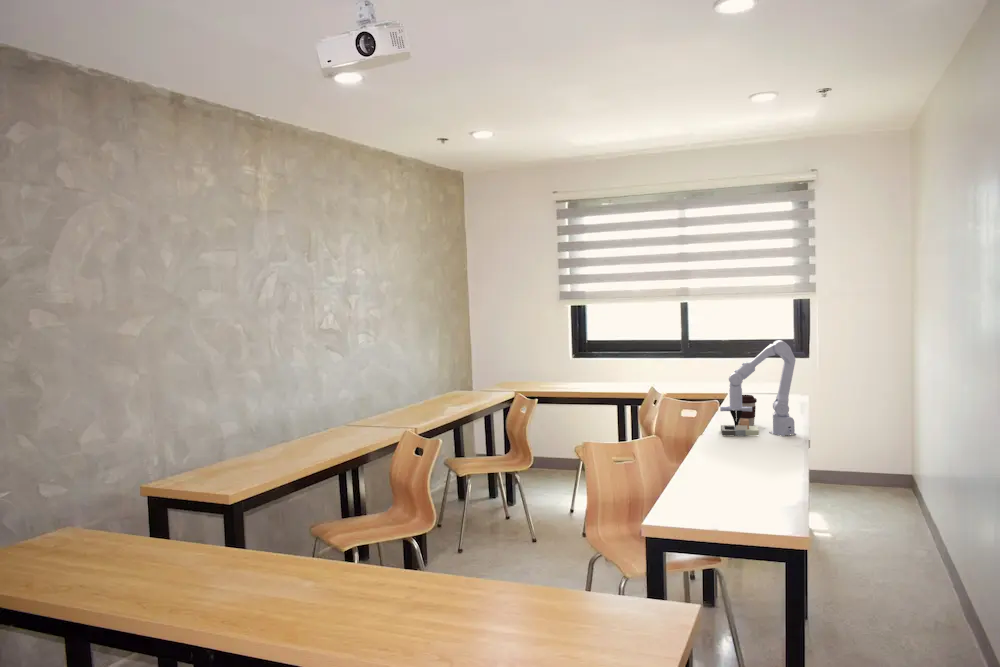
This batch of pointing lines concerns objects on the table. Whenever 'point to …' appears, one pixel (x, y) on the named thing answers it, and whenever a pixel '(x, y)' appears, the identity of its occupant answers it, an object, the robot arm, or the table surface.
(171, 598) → the table surface
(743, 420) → the terracotta block
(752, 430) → the pad
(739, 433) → the gray recessed tray
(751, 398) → the coffee cup
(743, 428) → the channel walls
